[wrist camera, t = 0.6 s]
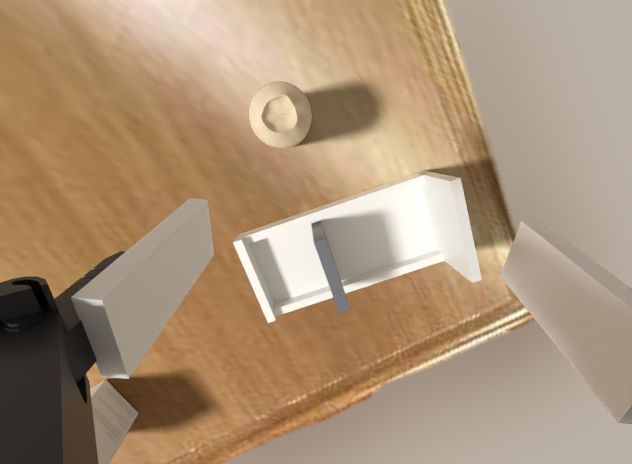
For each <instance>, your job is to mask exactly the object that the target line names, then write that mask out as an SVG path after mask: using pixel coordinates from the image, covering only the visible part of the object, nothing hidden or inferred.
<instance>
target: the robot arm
mask: <svg viewBox="0 0 632 464" xmlns="http://www.w3.org/2000/svg"><path fill="white" fill-rule="evenodd" d="M213 256H214V250H213V242H212V234H211V225H210V217H209V209H208V200H207V199H192V198H190V199H188V200H187V201H186V202H185V203H184V204H182V205H181V206H180V207H179V208H178V209H176V210H175V211H174V212H173V213H172V214H170V215H169V216H168V217H167V218H166V219H164V220H163V221H162V222H161V223H160V224H158V225H157V226H156V227H155V228H154V229H152V230H151V231H150V232H149V233H148V234H146V235H145V236H144V237H143V238H142V239H140V240H139V241H138V242H137V243H136V244H134V245H133V246H132V247H131V248H130V249H128V250H127V251H126V252H124V251H121V252H119V253H117V254H114V255H112V256H110V257H108V258H106V259H104V260H103V261H102V262H101V263H99V264H98V265H97V266H96V267H94V269H93V270H91V271H89V272H88V273H87V274H85V275H84V278H80V279H79V280H78V281H77V282H75V283H74V284H73V285H72V286H70V287H69V288H68V289H66V290H65V291H64V292H63V293H61V294H60V295H59V296H58V297H56V298H55V299H54V298H53V296H52V293H51V291H50V288H49V286H48V284H47V282H46V280H45V279H43V278H40V277H21V278H15V279H11V280H8V281H5V282H1V283H0V464H99V463H98V455H97V446H96V437H95V428H94V420H93V411H92V402H91V393H90V385H89V380H88V378H87V376H86V373H87V372H88V370H89V369H90V368H91V367H92V366H93V364H94V363H95V362H96V363H97V366H98V368H99V371H100V373H101V376H102V377H113V378H124V379H129V378H130V376H131V375H132V373H133V372H134V370H135V369H136V368H137V366H138V365H139V363H140V362H141V360H142V359H143V357H144V356H145V354H146V353H147V352H148V350H149V349H150V347H151V346H152V344H153V343H154V341H155V340H156V338H157V337H158V336H159V334H160V333H161V331H162V330H163V328H164V327H165V325H166V324H167V323H168V321H169V320H170V318H171V317H172V315H173V314H174V312H175V311H176V309H177V308H178V307H179V305H180V304H181V302H182V301H183V299H184V298H185V296H186V295H187V293H188V292H189V291H190V289H191V288H192V286H193V285H194V283H195V282H196V280H197V279H198V277H199V276H200V275H201V273H202V272H203V270H204V269H205V267H206V266H207V264H208V263H209V261H210V260H211V259H212V257H213ZM501 278H502V279H503V280H504V281H505V282H506V284H507V285H508V286H509V287H510V289H511V290H512V291H513V292H514V294H515V295H516V296H517V297H518V299H519V300H520V301H521V302H522V304H523V305H524V306H525V307H526V309H527V310H528V311H529V312H530V314H531V315H532V316H533V317H534V319H535V320H536V321H537V322H538V323H539V325H540V326H541V327H542V328H543V330H544V331H545V332H546V333H547V335H548V336H549V337H550V338H551V340H552V341H553V342H554V343H555V345H556V346H557V347H558V348H559V350H560V351H561V352H562V353H563V355H564V356H565V357H566V358H567V359H568V361H569V362H570V363H571V364H572V366H573V367H574V368H575V369H576V371H577V372H578V373H579V375H580V376H581V377H582V378H583V379H584V381H585V382H586V383H587V384H588V386H589V387H590V388H591V389H592V391H593V392H594V393H595V394H596V396H597V397H598V398H599V399H600V401H601V402H602V403H603V404H604V406H605V407H606V408H607V409H608V410H609V412H610V413H611V414H612V416H613V417H614V418H615V419H616V421H617V422H618V423H627V424H632V288H630V287H629V286H627V285H626V284H625V283H623V282H622V281H621V280H619V279H618V278H617V277H615V276H614V275H612V274H611V273H610V272H608V271H607V270H606V269H604V268H603V267H601V266H600V265H599V264H597V263H596V262H595V261H593V260H592V259H590V258H589V257H588V256H586V255H585V254H584V253H582V252H581V251H580V250H578V249H577V248H575V247H574V246H572V245H571V244H570V243H569V242H567V241H566V240H564V239H563V238H561V237H560V236H559V235H558V234H556V233H555V232H553V231H552V230H551V229H549V228H548V227H547V226H545V225H544V224H543V223H541V222H532V221H521V224H520V226H519V229H518V231H517V234H516V237H515V239H514V242H513V245H512V247H511V250H510V252H509V255H508V258H507V260H506V263H505V265H504V268H503V271H502V273H501Z"/></svg>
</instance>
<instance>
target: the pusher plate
mask: <svg viewBox="0 0 632 464" xmlns="http://www.w3.org/2000/svg"><path fill="white" fill-rule="evenodd" d="M311 226H312V233H313V241H314V245H315V247H316V250H317V253H318V256H319V259H320V261H321V264H322V267H323V270H324V272H325V275H326V278H327V281H328V284H329V286H330V289H331V292H332V295H333V298H334V300H335V303H336V306H337V309H338V311H339V314H340V313H343V312H346V311H349V310H350V307H349V304H348V301H347V298H346V294H345V291H344V288H343V284H342V281H341V278H340V275H339V272H338V269H337V266H336V263H335V261H334V258H333V255H332V252H331V249H330V246H329V243H328V240H327V237H326V235H325V232H324V229H323V226H322V223H321V220H320V221H317V222H315V223H312V224H311Z"/></svg>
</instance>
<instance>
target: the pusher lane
mask: <svg viewBox="0 0 632 464" xmlns="http://www.w3.org/2000/svg"><path fill="white" fill-rule="evenodd" d="M320 220H321V223H322V226H323V229H324V232H325V235H326V237H327V240H328V243H329V246H330V249H331V252H332V255H333V258H334V261H335V263H336V266H337V269H338V272H339V275H340V278H341V281H342V284H343V288H344V291H345V293H348V292H351V291H354V290H357V289H360V288H363V287H366V286H369V285H372V284H375V283H378V282H381V281H384V280H387V279H390V278H393V277H396V276H399V275H402V274H405V273H408V272H411V271H415V270H418V269H421V268H424V267H427V266H430V265H433V264H436V263H439V262H442V261H445V262H447V263H448V264H449V265H450V266H452V267H453V268H454V269H455V270H457V271H458V272H459V273H461V274H462V275H463V276H464V277H466V278H467V279H468V280H469V281H471V282H472V283H474V282H477V281H480V280H482V279H481V274H480V269H479V264H478V259H477V254H476V250H475V245H474V240H473V235H472V230H471V225H470V221H469V216H468V211H467V206H466V201H465V196H464V192H463V187H462V182H461V178H459V177H454V176H449V175H444V174H439V173H434V172H429V171H421V172H418V173H415V174H413V175H410V176H407V177H404V178H401V179H398V180H395V181H392V182H389V183H386V184H383V185H381V186H378V187H375V188H372V189H369V190H366V191H363V192H360V193H357V194H354V195H351V196H349V197H346V198H343V199H340V200H337V201H334V202H331V203H328V204H325V205H322V206H320V207H317V208H314V209H311V210H308V211H305V212H302V213H299V214H296V215H293V216H290V217H288V218H285V219H282V220H279V221H276V222H273V223H270V224H267V225H264V226H261V227H258V228H256V229H253V230H250V231H247V232H244V233H241V234H239V235H238V236H237V238H236V239H235V241H234V242H233V243H234V246H235V248H236V250H237V253H238V255H239V257H240V260H241V262H242V264H243V266H244V269H245V271H246V273H247V276H248V278H249V280H250V282H251V285H252V287H253V289H254V292H255V294H256V296H257V299H258V301H259V303H260V305H261V308H262V310H263V312H264V315H265V317H266V319H267V322H268V323H269V322H272V321H275V320H276V316H278V315H281V314H284V313H287V312H290V311H293V310H296V309H299V308H302V307H305V306H308V305H312V304H315V303H318V302H321V301H324V300H327V299H330V298H333V295H332V292H331V289H330V286H329V284H328V281H327V278H326V275H325V272H324V270H323V267H322V264H321V261H320V259H319V256H318V253H317V250H316V247H315V245H314V241H313V233H312V226H311V224H312V223H315V222H317V221H320Z"/></svg>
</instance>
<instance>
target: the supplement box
mask: <svg viewBox="0 0 632 464" xmlns="http://www.w3.org/2000/svg"><path fill="white" fill-rule="evenodd" d="M90 393H91V402H92V411H93V420H94V428H95V437H96V446H97V455H98V463H99V464H109V463H110V461H111V459H112V458H113V456H114V454H115V453H116V451H117V449H118V448H119V446H120V444H121V443H122V441H123V439H124V438H125V436H126V434H127V433H128V431H129V429H130V427H131V426H132V424H133V422H134V420H135V419H136V417H137V415H138V412H137V411H136V410H135V409H134V408H133V407H132V406H131V405H130V404H129V403H128V402H127V401H126V400H125V399H124V398H123V397H122V396H121V394H120V393H119V392H118V391H117V390H116V389H115V388H114V387H113V386H112V385H111V384H110V383H109V382H108V381H107V380H104V381H103V382H101V383H99V384H97V385H95V386H94V387H92V388H90Z"/></svg>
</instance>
